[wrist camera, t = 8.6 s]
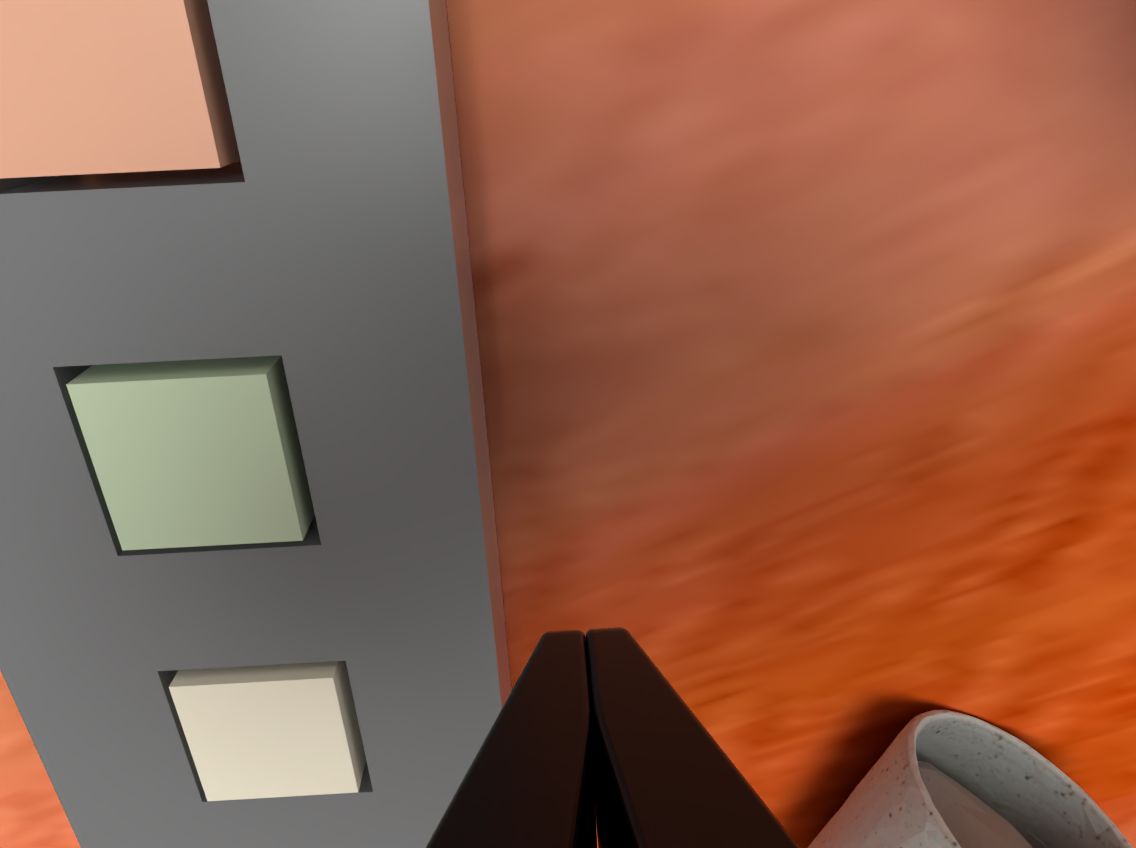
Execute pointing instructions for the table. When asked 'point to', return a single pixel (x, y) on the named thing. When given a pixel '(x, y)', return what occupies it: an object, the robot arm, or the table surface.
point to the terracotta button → (111, 88)
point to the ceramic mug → (966, 795)
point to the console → (324, 424)
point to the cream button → (271, 729)
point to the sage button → (195, 451)
